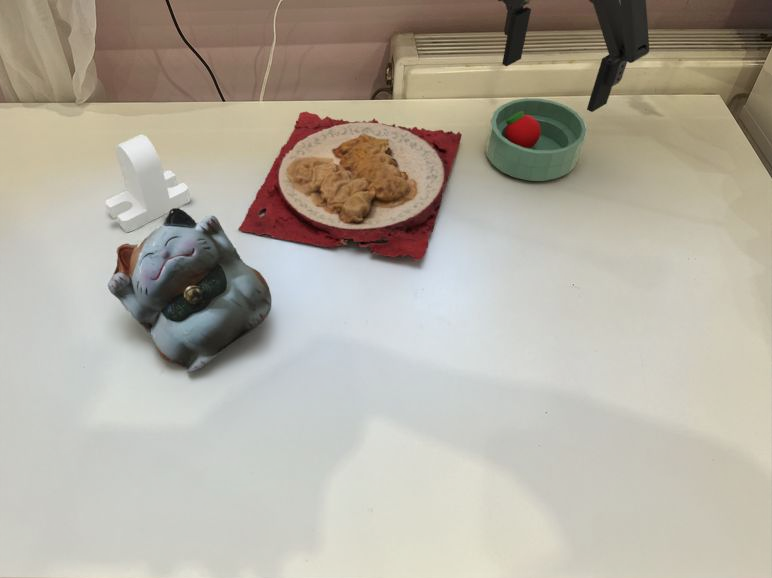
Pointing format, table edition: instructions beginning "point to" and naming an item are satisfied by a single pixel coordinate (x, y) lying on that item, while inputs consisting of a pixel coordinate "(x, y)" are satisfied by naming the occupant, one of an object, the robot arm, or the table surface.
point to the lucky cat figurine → (190, 289)
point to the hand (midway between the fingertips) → (552, 83)
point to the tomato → (522, 130)
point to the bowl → (551, 150)
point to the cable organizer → (144, 186)
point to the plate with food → (355, 185)
